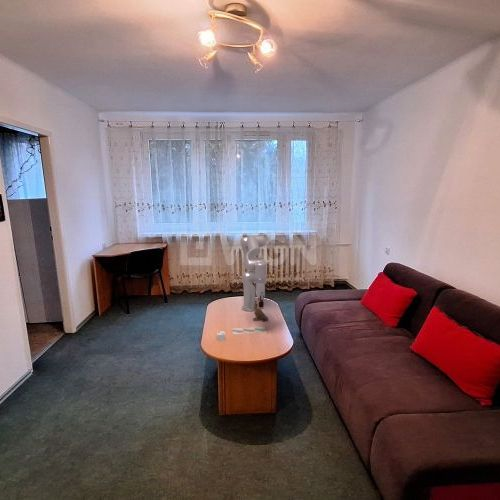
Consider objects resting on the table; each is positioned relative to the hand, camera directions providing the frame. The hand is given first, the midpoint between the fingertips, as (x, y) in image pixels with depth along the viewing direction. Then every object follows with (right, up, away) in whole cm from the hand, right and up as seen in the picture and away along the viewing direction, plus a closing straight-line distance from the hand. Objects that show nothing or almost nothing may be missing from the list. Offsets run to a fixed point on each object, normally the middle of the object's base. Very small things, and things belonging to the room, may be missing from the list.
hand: (260, 305), depth 221 cm
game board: (-8, -18, +3) cm, 20 cm away
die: (-26, -21, -10) cm, 35 cm away
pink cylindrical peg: (0, -2, 0) cm, 2 cm away
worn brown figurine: (+1, -15, +21) cm, 26 cm away
